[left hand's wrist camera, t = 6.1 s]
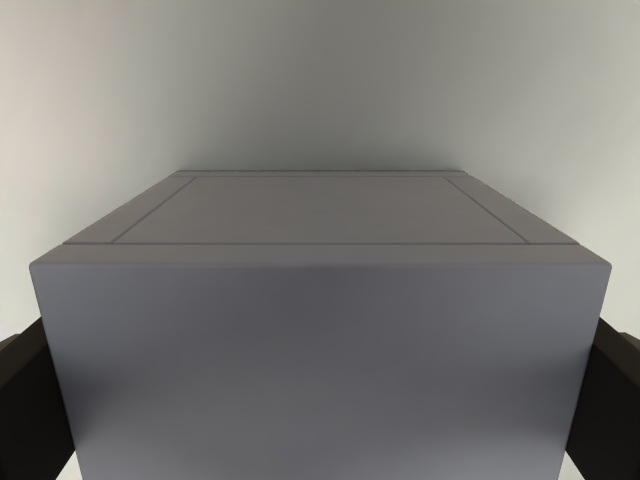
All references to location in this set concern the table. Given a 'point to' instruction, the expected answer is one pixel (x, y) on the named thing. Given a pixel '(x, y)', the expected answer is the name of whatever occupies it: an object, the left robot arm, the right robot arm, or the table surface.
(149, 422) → the cabinet
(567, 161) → the table surface
